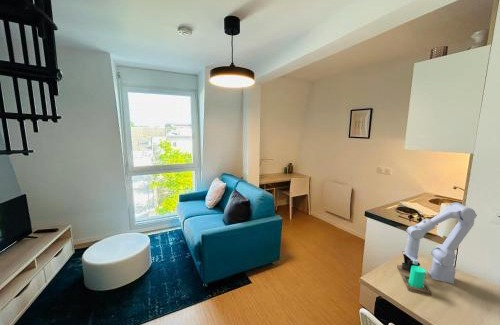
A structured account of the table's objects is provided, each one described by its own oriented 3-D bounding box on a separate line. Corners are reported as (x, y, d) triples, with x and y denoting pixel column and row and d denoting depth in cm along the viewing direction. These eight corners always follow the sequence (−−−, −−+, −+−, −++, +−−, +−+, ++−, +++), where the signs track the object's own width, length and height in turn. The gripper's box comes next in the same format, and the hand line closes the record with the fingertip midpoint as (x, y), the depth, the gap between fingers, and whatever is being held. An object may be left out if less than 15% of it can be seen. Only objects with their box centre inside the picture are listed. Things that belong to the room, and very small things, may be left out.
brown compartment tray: (396, 267, 128) (398, 259, 127) (416, 271, 125) (417, 263, 124) (408, 290, 110) (409, 281, 109) (431, 296, 106) (433, 287, 105)
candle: (425, 291, 109) (429, 270, 107) (413, 290, 110) (416, 269, 108) (417, 282, 115) (420, 263, 113) (405, 281, 116) (409, 262, 114)
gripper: (400, 239, 129) (397, 259, 131) (408, 252, 115) (404, 274, 118) (414, 241, 126) (410, 262, 129) (424, 255, 113) (420, 277, 115)
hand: (409, 268), depth 123 cm, fingers open, 7 cm apart
